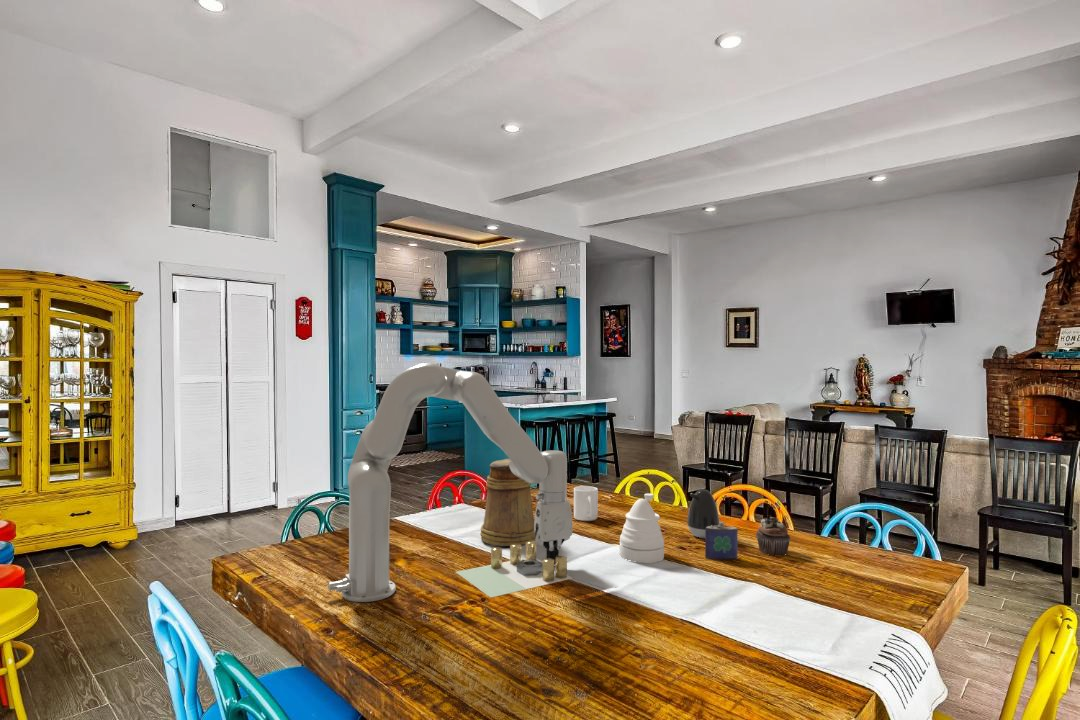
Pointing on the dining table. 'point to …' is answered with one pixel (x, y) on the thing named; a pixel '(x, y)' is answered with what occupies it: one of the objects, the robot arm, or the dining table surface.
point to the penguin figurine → (702, 513)
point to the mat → (503, 579)
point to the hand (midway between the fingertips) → (552, 563)
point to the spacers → (531, 554)
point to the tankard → (507, 508)
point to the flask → (721, 542)
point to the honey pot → (642, 533)
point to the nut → (529, 567)
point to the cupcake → (772, 537)
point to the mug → (585, 503)
